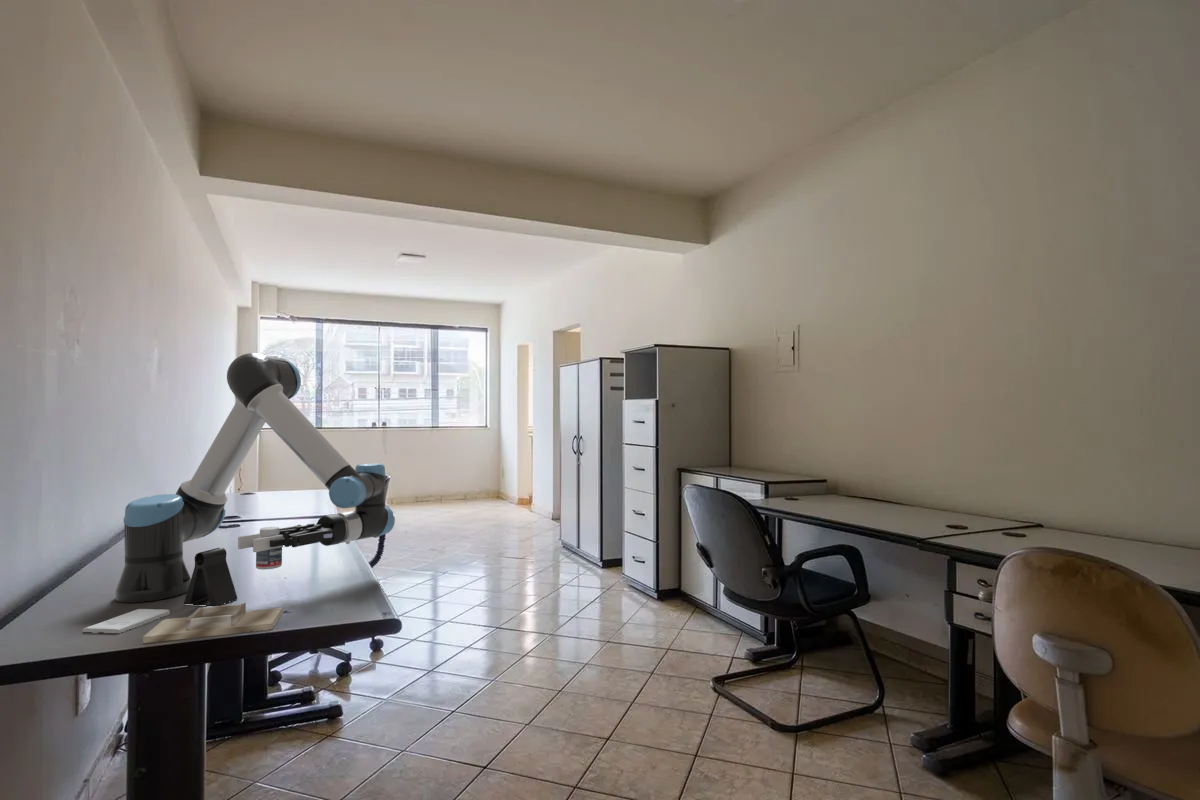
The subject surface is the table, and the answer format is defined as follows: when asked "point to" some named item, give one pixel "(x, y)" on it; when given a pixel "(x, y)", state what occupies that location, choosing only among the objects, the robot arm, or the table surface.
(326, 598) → the table surface
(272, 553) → the pill bottle
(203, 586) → the phone stand
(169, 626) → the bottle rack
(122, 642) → the table surface
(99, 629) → the external hard drive
